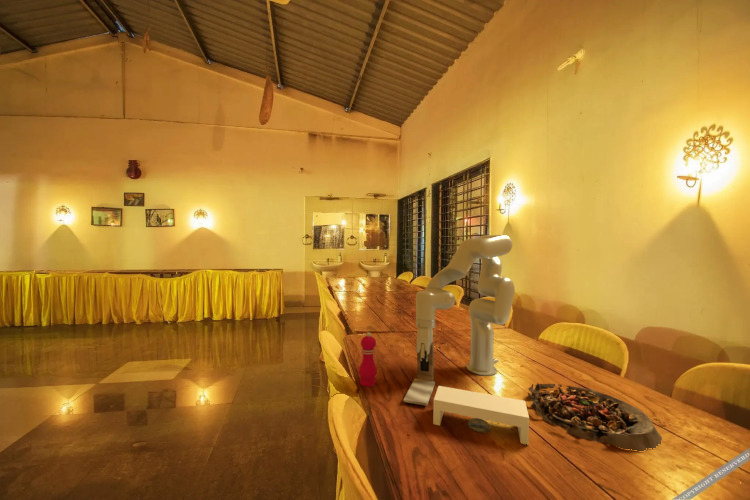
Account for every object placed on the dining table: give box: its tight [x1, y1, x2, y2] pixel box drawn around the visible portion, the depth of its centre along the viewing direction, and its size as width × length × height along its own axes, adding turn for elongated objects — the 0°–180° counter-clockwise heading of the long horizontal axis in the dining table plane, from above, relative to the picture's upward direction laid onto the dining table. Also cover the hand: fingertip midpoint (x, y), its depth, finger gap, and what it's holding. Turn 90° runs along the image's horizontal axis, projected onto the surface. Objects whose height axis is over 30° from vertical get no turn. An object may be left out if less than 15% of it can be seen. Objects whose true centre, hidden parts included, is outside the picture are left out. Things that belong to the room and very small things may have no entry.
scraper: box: [403, 342, 436, 407], centre depth 111 cm, size 20×8×15 cm, turn 160°
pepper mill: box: [358, 331, 378, 388], centre depth 118 cm, size 7×7×20 cm
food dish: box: [527, 382, 663, 451], centre depth 97 cm, size 35×33×8 cm
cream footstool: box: [432, 385, 530, 446], centre depth 91 cm, size 10×26×8 cm, turn 70°
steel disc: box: [467, 417, 490, 434], centre depth 90 cm, size 6×6×1 cm
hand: (425, 368), depth 119 cm, fingers closed on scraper, 3 cm apart
